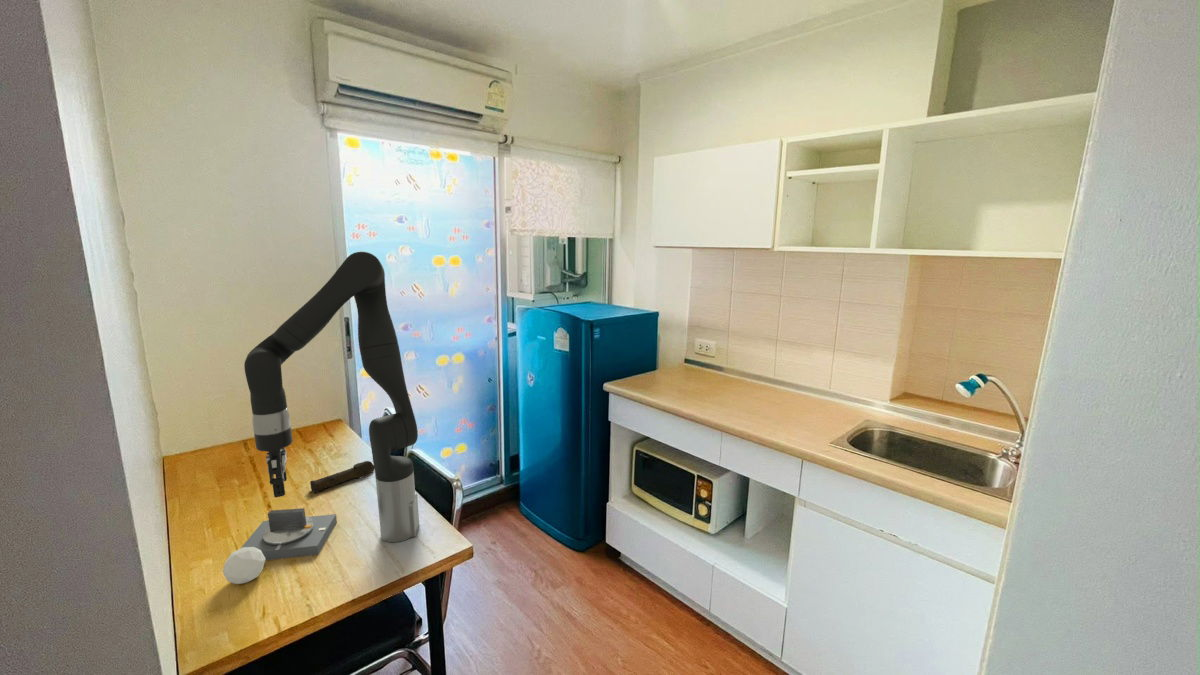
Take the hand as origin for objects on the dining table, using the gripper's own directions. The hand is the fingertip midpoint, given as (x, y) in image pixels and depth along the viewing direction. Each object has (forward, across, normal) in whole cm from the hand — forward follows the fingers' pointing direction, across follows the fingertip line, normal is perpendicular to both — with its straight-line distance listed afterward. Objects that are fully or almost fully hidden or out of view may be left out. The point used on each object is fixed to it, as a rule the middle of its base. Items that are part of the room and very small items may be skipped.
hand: (280, 488), depth 119 cm
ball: (+16, -10, +8) cm, 21 cm away
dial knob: (+13, +1, 0) cm, 13 cm away
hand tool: (+16, +30, -14) cm, 36 cm away
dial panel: (+16, +1, 0) cm, 16 cm away
